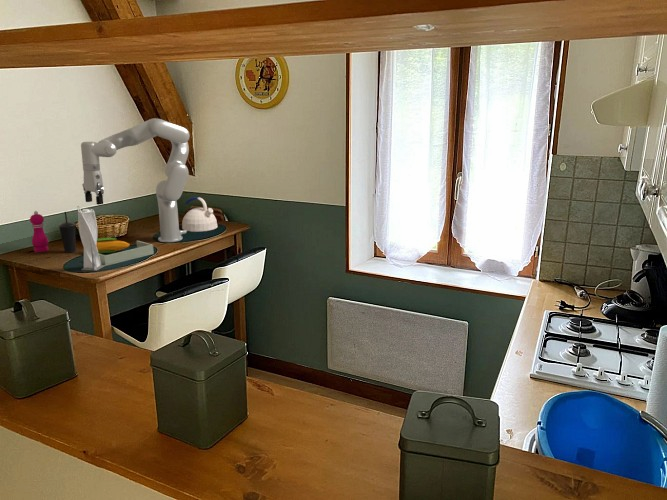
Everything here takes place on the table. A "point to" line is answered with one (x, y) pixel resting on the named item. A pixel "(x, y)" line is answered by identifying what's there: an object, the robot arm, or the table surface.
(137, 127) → the robot arm
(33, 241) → the pepper mill
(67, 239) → the drinking cup
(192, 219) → the kettle
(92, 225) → the skyscraper
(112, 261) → the bin
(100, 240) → the corn
